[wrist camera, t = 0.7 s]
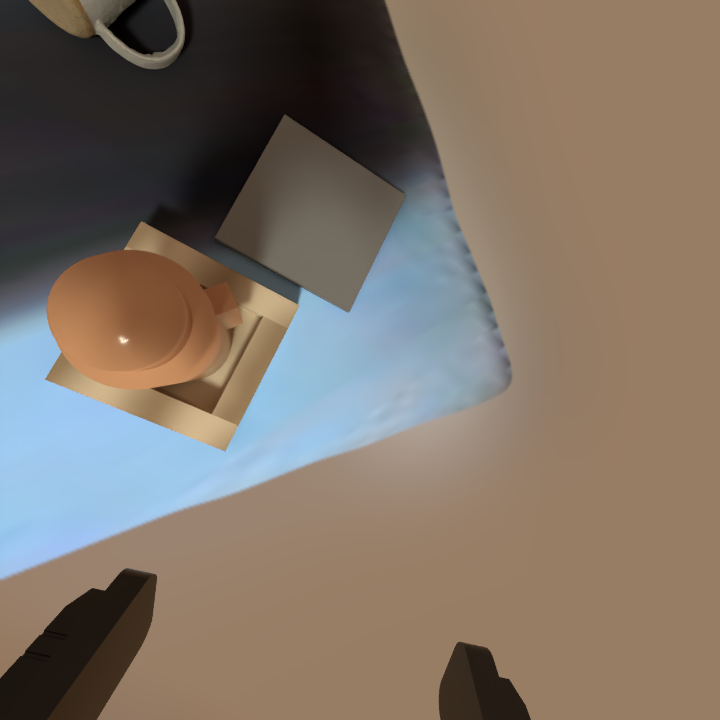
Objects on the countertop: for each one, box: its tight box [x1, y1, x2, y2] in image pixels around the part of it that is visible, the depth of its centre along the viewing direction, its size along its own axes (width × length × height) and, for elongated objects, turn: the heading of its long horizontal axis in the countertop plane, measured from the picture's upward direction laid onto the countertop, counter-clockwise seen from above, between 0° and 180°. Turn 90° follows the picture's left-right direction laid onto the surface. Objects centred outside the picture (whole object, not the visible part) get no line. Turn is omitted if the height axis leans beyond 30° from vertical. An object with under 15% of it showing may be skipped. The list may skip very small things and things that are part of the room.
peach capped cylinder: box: [47, 250, 243, 390], centre depth 20 cm, size 7×6×14 cm
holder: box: [45, 222, 299, 451], centre depth 26 cm, size 12×12×2 cm
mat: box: [215, 115, 406, 312], centre depth 30 cm, size 12×12×1 cm
